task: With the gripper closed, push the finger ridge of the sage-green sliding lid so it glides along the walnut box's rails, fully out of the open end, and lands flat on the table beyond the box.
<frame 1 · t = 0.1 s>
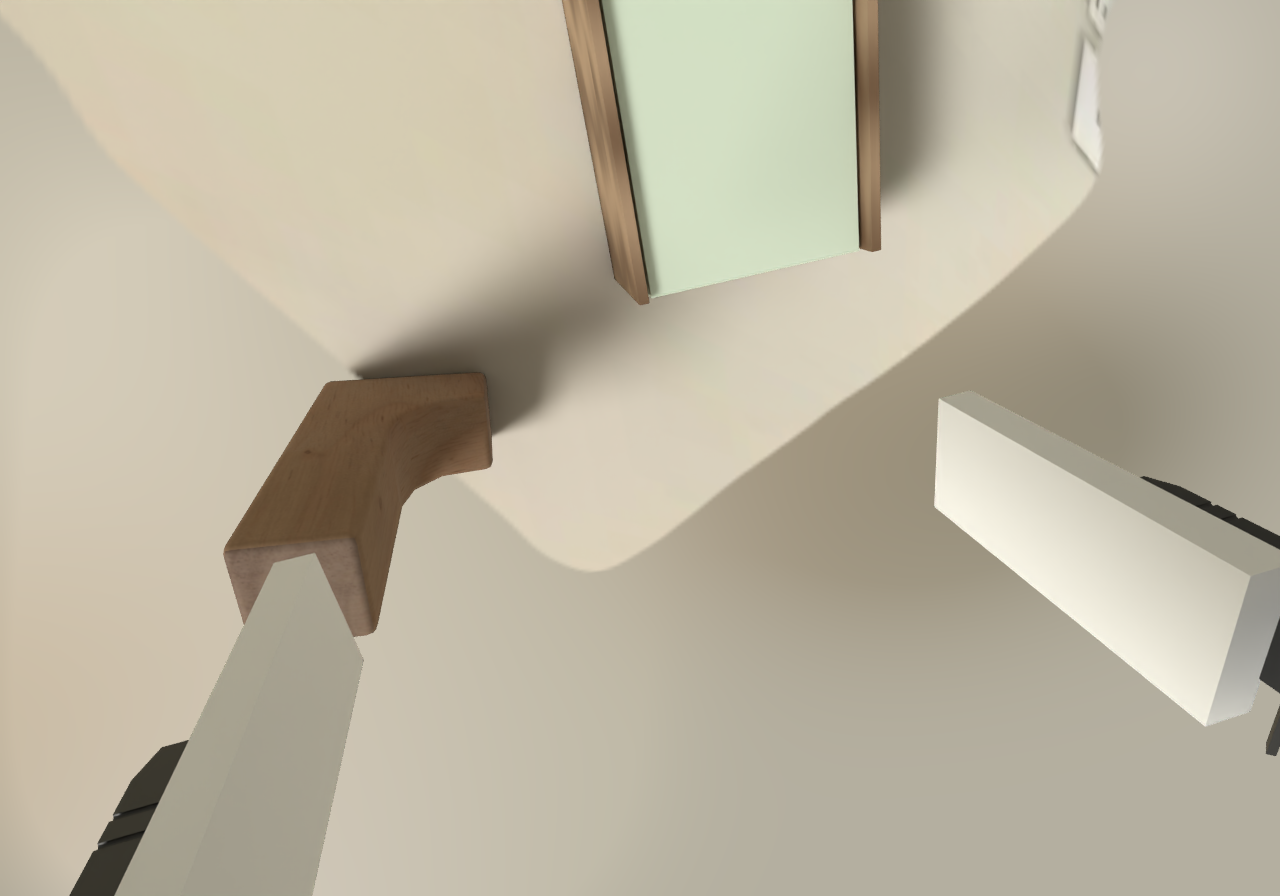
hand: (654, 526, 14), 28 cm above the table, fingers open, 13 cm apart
wooden block: (412, 409, 41), on the table
lid: (732, 104, 33), point 5 cm above the table, touching box
box: (702, 108, 37), on the table
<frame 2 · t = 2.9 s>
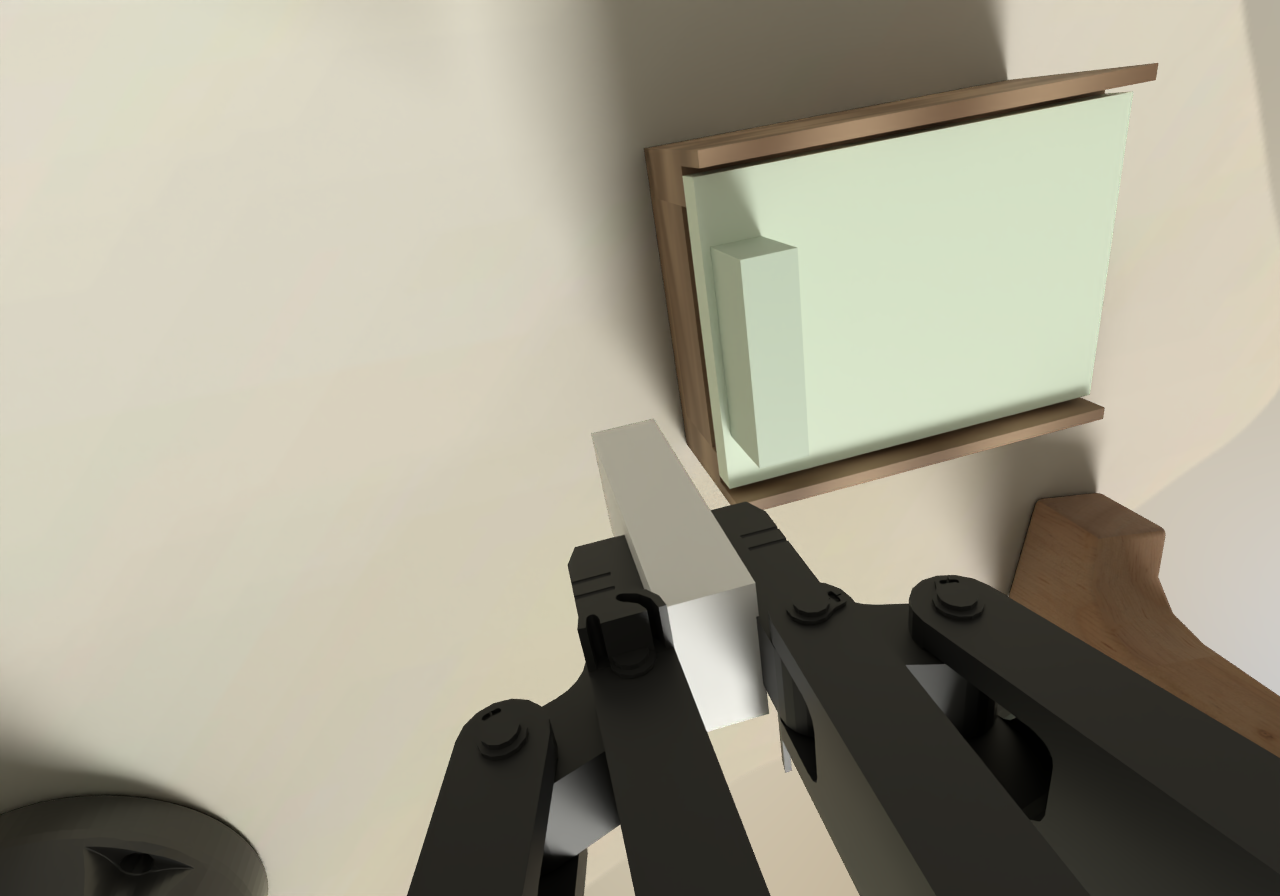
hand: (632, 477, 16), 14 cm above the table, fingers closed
wooden block: (1044, 557, 41), on the table
lid: (901, 295, 26), point 5 cm above the table, touching box
box: (838, 272, 30), on the table
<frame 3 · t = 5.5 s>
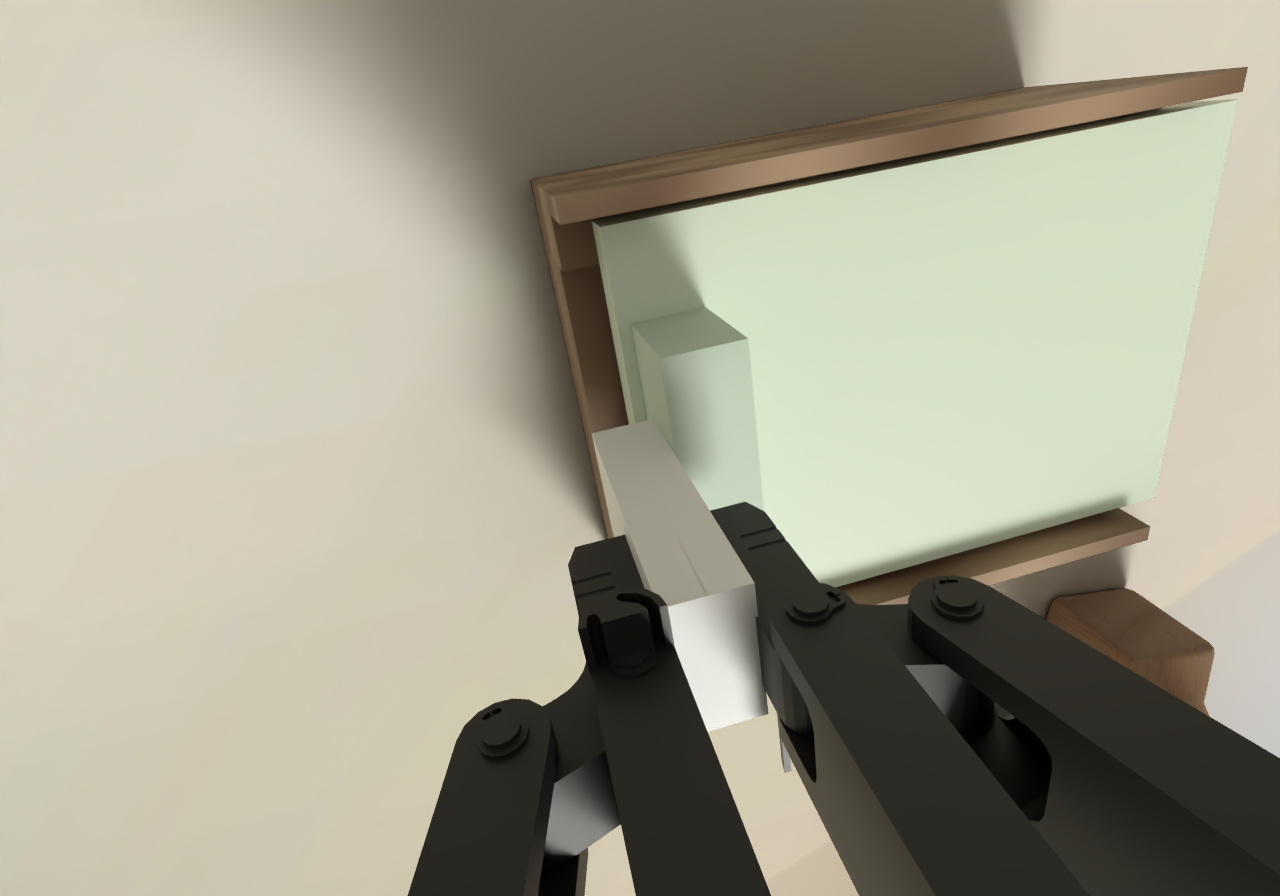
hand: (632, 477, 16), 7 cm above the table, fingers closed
wooden block: (1060, 660, 34), on the table
lid: (906, 374, 19), point 5 cm above the table, touching box, gripper
box: (800, 336, 23), on the table
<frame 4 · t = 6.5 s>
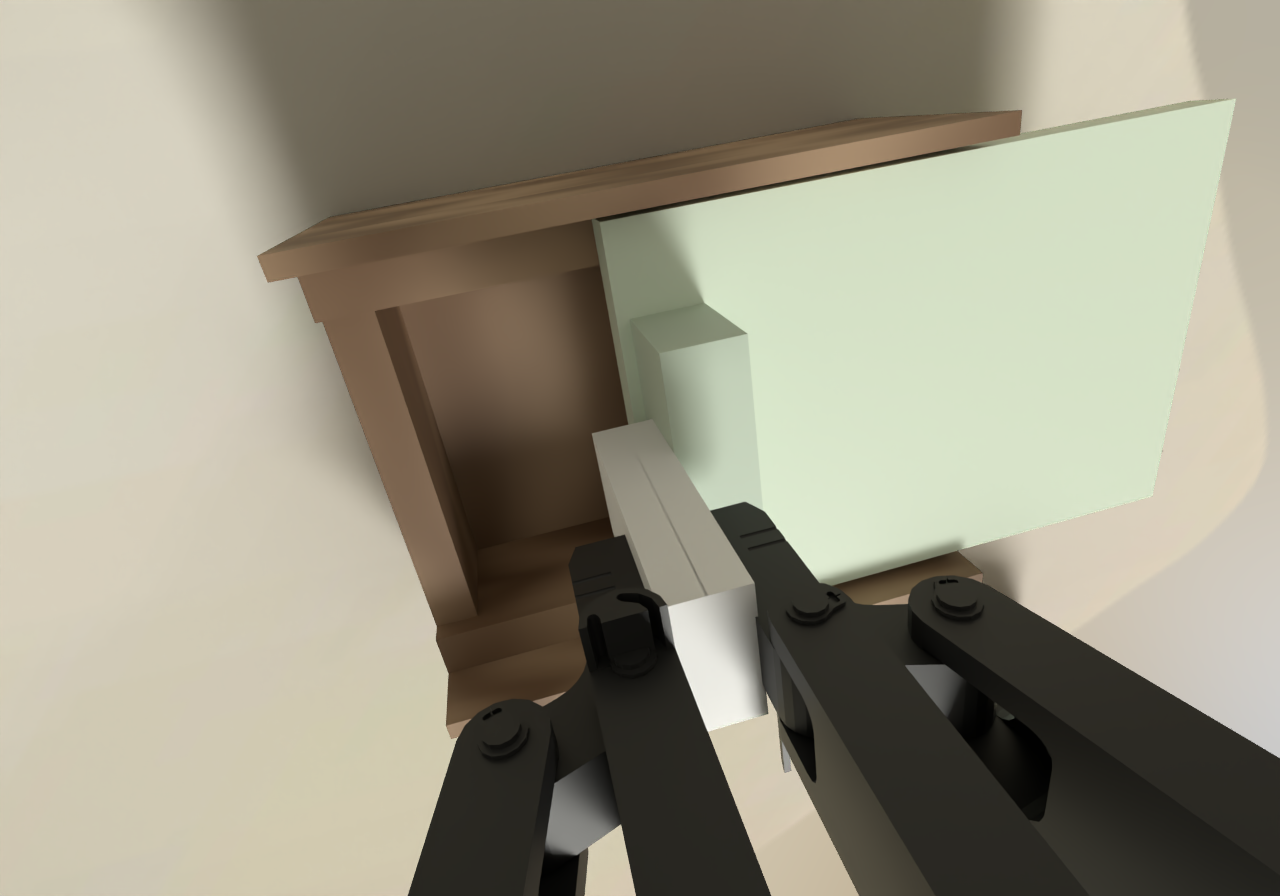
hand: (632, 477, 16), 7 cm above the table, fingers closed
lid: (904, 372, 19), point 5 cm above the table, touching gripper
box: (642, 371, 23), on the table
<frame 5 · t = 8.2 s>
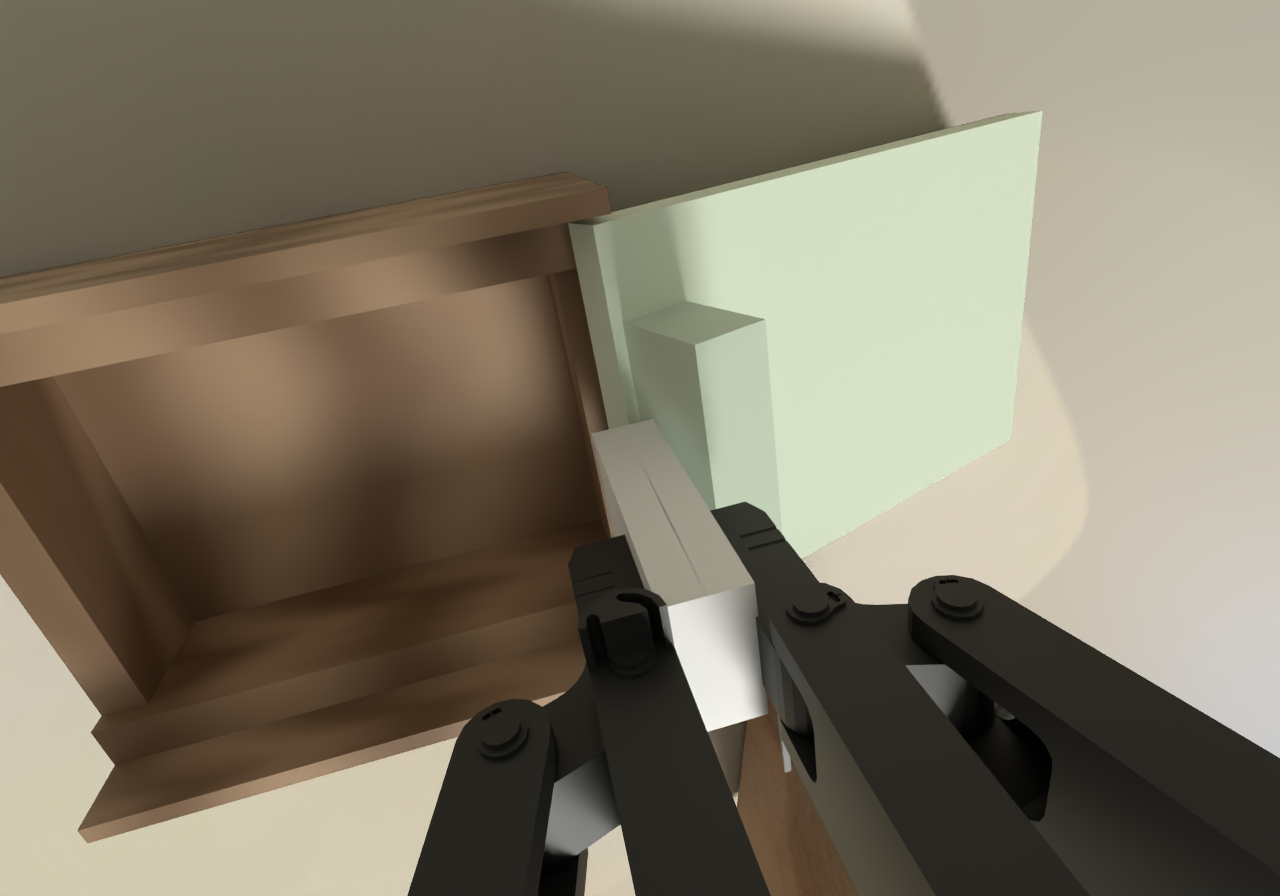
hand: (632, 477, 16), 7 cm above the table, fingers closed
wooden block: (782, 744, 32), on the table
lid: (832, 355, 21), point 3 cm above the table, tilted 19°, touching box, gripper
box: (362, 435, 22), on the table
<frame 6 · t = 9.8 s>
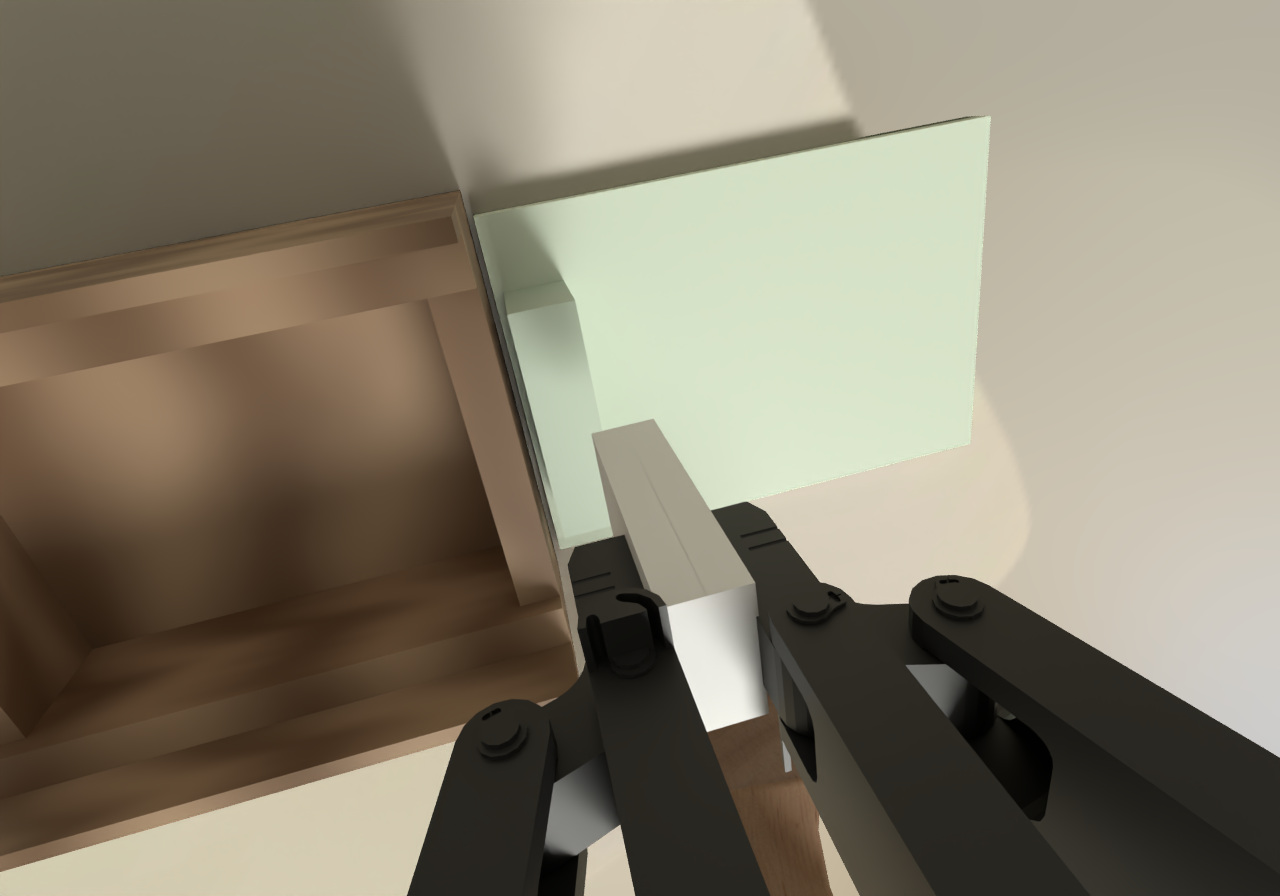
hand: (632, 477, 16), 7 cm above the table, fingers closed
wooden block: (723, 765, 32), on the table
lid: (747, 338, 23), on the table
box: (260, 458, 21), on the table
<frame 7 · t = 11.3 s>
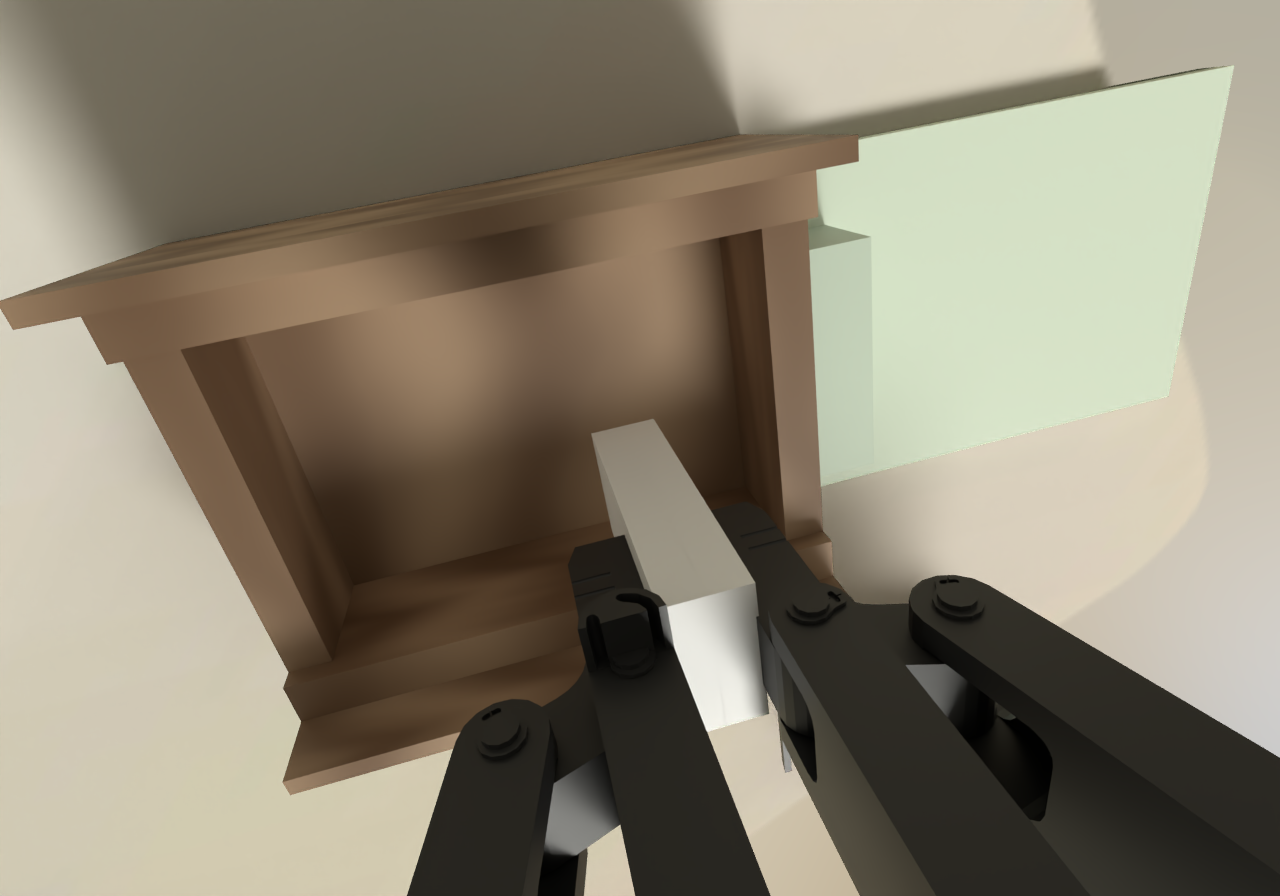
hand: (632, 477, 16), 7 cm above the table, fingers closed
lid: (969, 289, 24), on the table
box: (522, 400, 22), on the table
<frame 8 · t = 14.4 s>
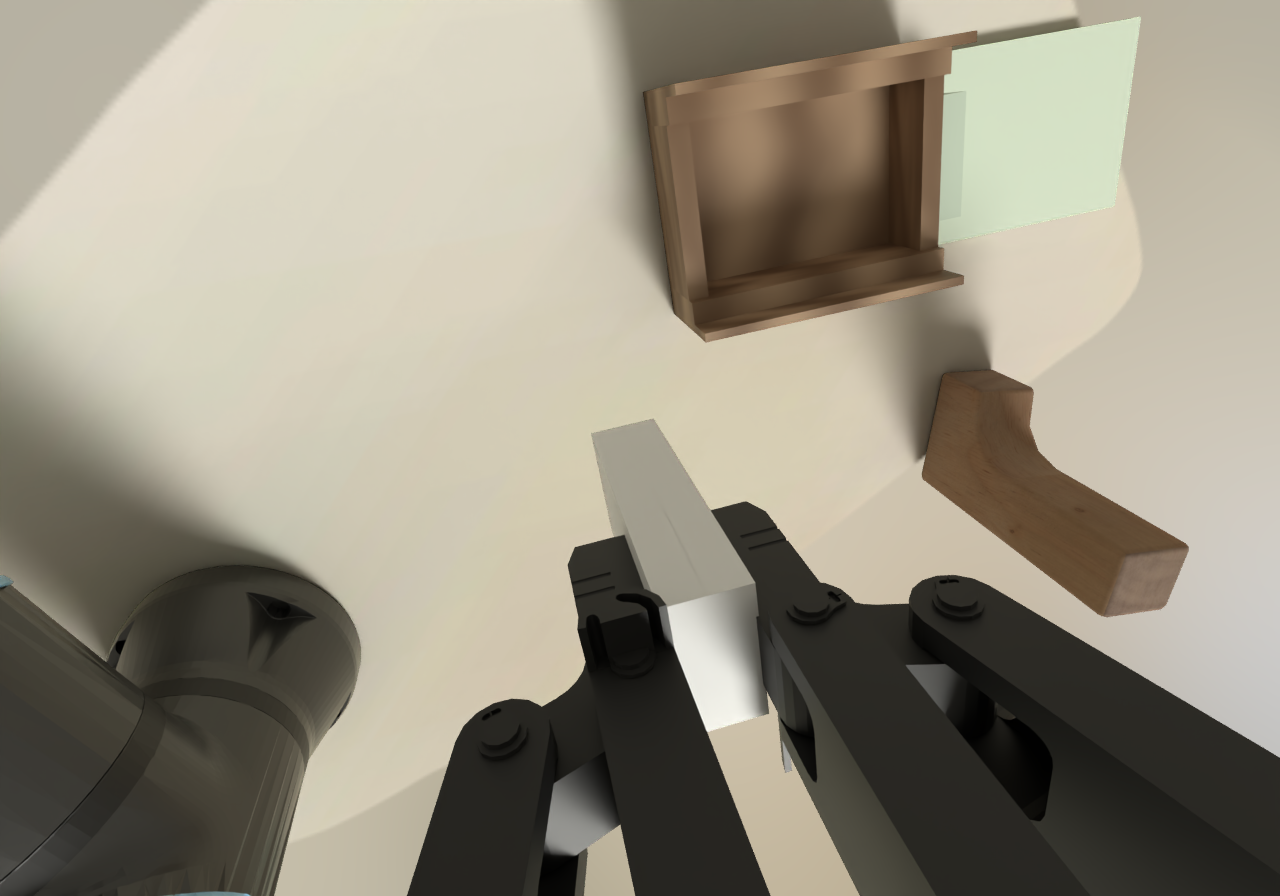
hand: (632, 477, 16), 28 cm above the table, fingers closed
wooden block: (953, 423, 53), on the table
lid: (1005, 138, 45), on the table
box: (782, 186, 42), on the table
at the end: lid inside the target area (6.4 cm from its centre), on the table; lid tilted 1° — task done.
